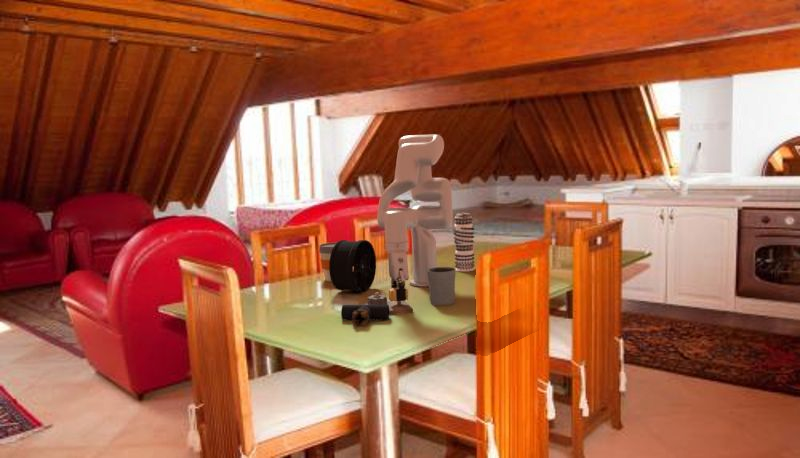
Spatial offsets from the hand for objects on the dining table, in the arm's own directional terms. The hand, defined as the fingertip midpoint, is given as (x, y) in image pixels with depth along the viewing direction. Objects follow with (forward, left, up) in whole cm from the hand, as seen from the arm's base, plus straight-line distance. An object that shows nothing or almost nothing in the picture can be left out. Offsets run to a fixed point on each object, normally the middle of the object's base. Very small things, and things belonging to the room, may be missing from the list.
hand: (398, 297), depth 221 cm
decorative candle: (-43, -54, -4) cm, 69 cm away
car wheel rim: (+10, -34, -4) cm, 36 cm away
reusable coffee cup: (+14, -59, -4) cm, 61 cm away
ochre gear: (0, 0, -1) cm, 1 cm away
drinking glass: (-16, -2, -4) cm, 17 cm away
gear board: (+4, 0, -4) cm, 5 cm away
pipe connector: (+15, +12, -4) cm, 19 cm away
